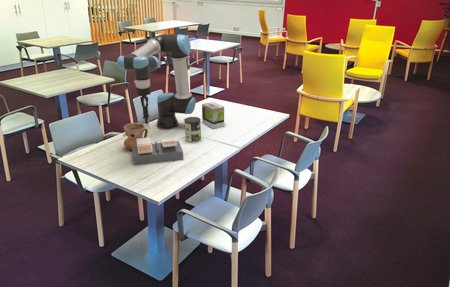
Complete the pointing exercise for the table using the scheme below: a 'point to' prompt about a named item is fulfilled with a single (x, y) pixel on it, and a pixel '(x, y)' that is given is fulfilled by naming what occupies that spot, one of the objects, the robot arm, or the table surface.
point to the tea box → (213, 115)
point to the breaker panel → (158, 154)
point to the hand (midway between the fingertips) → (147, 128)
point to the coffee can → (192, 129)
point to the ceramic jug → (133, 134)
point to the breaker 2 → (168, 142)
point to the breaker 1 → (144, 145)
